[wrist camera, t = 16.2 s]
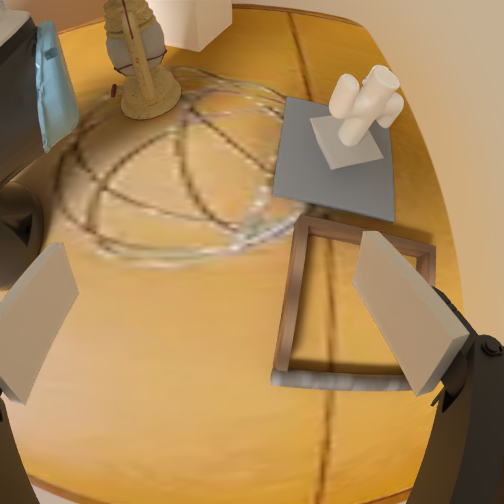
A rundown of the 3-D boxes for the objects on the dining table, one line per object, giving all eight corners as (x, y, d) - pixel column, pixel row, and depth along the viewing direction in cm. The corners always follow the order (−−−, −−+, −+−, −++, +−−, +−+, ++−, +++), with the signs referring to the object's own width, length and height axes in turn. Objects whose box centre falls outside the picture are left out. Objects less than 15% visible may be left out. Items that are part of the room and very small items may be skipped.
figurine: (378, 170, 35) (439, 103, 20) (318, 184, 34) (368, 105, 19) (354, 126, 36) (400, 53, 22) (295, 136, 35) (327, 49, 20)
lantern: (114, 85, 36) (60, -71, 7) (172, 65, 38) (150, -100, 8) (122, 137, 34) (39, -57, 5) (190, 113, 36) (168, -100, 6)
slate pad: (392, 223, 34) (394, 221, 34) (271, 195, 34) (272, 193, 33) (387, 127, 38) (388, 125, 37) (286, 98, 37) (287, 96, 37)
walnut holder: (407, 388, 29) (420, 393, 27) (269, 382, 29) (273, 389, 26) (422, 251, 34) (435, 246, 31) (294, 223, 33) (300, 214, 30)
